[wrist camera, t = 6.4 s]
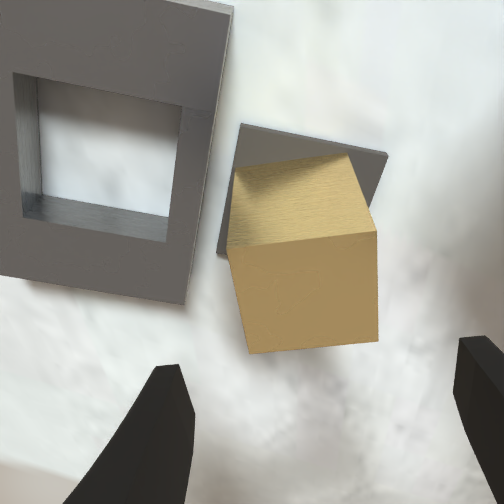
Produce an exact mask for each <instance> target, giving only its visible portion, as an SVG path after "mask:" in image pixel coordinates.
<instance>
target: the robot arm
mask: <svg viewBox="0 0 504 504" xmlns="http://www.w3.org/2000/svg"><path fill="white" fill-rule="evenodd" d="M453 395H454V398H455V401H456V404H457V408H458V411H459V414H460V417H461V420H462V423H463V427H464V430H465V432H466V435H467V437H468V439H469V442H470V444H471V446H472V448H473V451H474V453H475V455H476V457H477V460H478V462H479V464H480V466H481V469H482V471H483V473H484V475H485V477H486V480H487V482H488V484H489V486H490V488H491V491H492V493H493V495H494V497H495V500H496V502H497V504H504V353H503V352H502V351H501V350H500V349H499V348H498V347H497V346H496V345H495V344H494V343H493V342H492V341H491V340H490V339H489V338H487V337H486V336H474V337H463V338H459V346H458V354H457V362H456V371H455V379H454V388H453ZM194 430H195V412H194V409H193V406H192V403H191V400H190V397H189V394H188V390H187V387H186V384H185V381H184V378H183V375H182V372H181V369H180V366H179V364H174V365H164V366H156V367H155V368H154V370H153V371H152V373H151V375H150V377H149V378H148V380H147V382H146V383H145V385H144V387H143V389H142V390H141V392H140V394H139V395H138V397H137V399H136V400H135V402H134V404H133V405H132V407H131V409H130V410H129V412H128V413H127V415H126V417H125V418H124V420H123V421H122V423H121V424H120V426H119V427H118V429H117V431H116V432H115V434H114V435H113V437H112V438H111V440H110V441H109V443H108V444H107V446H106V447H105V448H104V450H103V451H102V453H101V454H100V455H99V457H98V458H97V460H96V461H95V462H94V464H93V465H92V467H91V468H90V469H89V471H88V472H87V473H86V475H85V476H84V477H83V479H82V480H81V481H80V483H79V484H78V485H77V487H76V488H75V489H74V490H73V492H72V493H71V494H70V495H69V496H68V498H67V499H66V500H65V501H64V502H63V504H184V502H185V496H186V491H187V485H188V479H189V474H190V468H191V462H192V456H193V446H194Z"/></svg>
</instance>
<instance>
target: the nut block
mask: <svg viewBox="0 0 504 504" xmlns="http://www.w3.org/2000/svg"><path fill="white" fill-rule="evenodd" d="M226 250H227V255H228V259H229V264H230V268H231V273H232V277H233V282H234V287H235V291H236V296H237V300H238V305H239V309H240V314H241V318H242V323H243V327H244V332H245V336H246V341H247V345H248V350H249V354H256V353H266V352H276V351H287V350H297V349H307V348H317V347H327V346H337V345H347V344H357V343H368V342H378V275H377V230H376V227H375V225H374V222H373V219H372V217H371V214H370V211H369V209H368V206H367V204H366V201H365V198H364V196H363V193H362V191H361V188H360V185H359V183H358V180H357V177H356V175H355V172H354V170H353V167H352V164H351V162H350V159H349V157H348V154H347V152H346V153H339V154H332V155H324V156H317V157H310V158H303V159H295V160H288V161H281V162H274V163H266V164H259V165H252V166H245V167H237V168H235V175H234V184H233V193H232V202H231V210H230V219H229V228H228V237H227V246H226Z"/></svg>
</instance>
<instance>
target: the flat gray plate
mask: <svg viewBox="0 0 504 504" xmlns="http://www.w3.org/2000/svg"><path fill="white" fill-rule="evenodd" d="M346 152H347V154H348V157H349V159H350V162H351V164H352V167H353V170H354V172H355V175H356V177H357V180H358V183H359V185H360V188H361V191H362V193H363V196H364V198H365V201H366V204H367V206H368V209H369V206H370V204H371V201H372V198H373V196H374V193H375V191H376V188H377V185H378V183H379V180H380V177H381V175H382V172H383V170H384V167H385V164H386V162H387V159H388V155H387V153H386V152H381V151H376V150H371V149H366V148H361V147H356V146H352V145H347V144H342V143H337V142H332V141H327V140H322V139H317V138H312V137H307V136H302V135H297V134H292V133H287V132H282V131H277V130H272V129H267V128H262V127H258V126H253V125H248V124H243V123H241V125H240V130H239V135H238V141H237V146H236V151H235V156H234V161H233V167H232V172H231V177H230V182H229V187H228V193H227V198H226V203H225V208H224V213H223V219H222V224H221V229H220V234H219V240H218V245H217V251H216V253H220V254H226V255H227V250H226V246H227V237H228V228H229V219H230V210H231V202H232V193H233V184H234V175H235V168H237V167H245V166H252V165H259V164H266V163H274V162H281V161H288V160H295V159H303V158H310V157H317V156H324V155H332V154H339V153H346Z"/></svg>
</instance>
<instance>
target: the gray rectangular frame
mask: <svg viewBox="0 0 504 504" xmlns="http://www.w3.org/2000/svg"><path fill="white" fill-rule="evenodd" d="M233 8H234V6H230V5H225V4H221V3H216V2H212V1H207V0H0V275H3V276H9V277H15V278H21V279H27V280H34V281H40V282H46V283H52V284H58V285H64V286H70V287H76V288H82V289H88V290H95V291H101V292H107V293H113V294H119V295H125V296H131V297H137V298H143V299H150V300H156V301H162V302H168V303H174V304H180V305H184V304H185V299H186V295H187V290H188V285H189V280H190V274H191V268H192V262H193V256H194V250H195V243H196V237H197V231H198V225H199V219H200V212H201V206H202V200H203V194H204V188H205V182H206V175H207V169H208V163H209V157H210V151H211V144H212V138H213V132H214V126H215V120H216V113H217V107H218V101H219V95H220V89H221V82H222V76H223V70H224V64H225V58H226V51H227V45H228V39H229V33H230V27H231V21H232V14H233ZM36 77H40V78H45V79H50V80H55V81H60V82H65V83H69V84H74V85H79V86H84V87H89V88H94V89H99V90H104V91H109V92H114V93H119V94H124V95H129V96H133V97H138V98H143V99H148V100H153V101H158V102H163V103H168V104H173V105H178V106H182V111H181V119H180V128H179V136H178V144H177V153H176V161H175V169H174V177H173V186H172V194H171V202H170V211H169V218H168V217H163V216H157V215H152V214H146V213H141V212H135V211H130V210H124V209H118V208H113V207H107V206H102V205H96V204H91V203H85V202H80V201H74V200H69V199H63V198H58V197H52V196H46V195H42V185H41V164H40V142H39V121H38V99H37V78H36Z"/></svg>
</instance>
